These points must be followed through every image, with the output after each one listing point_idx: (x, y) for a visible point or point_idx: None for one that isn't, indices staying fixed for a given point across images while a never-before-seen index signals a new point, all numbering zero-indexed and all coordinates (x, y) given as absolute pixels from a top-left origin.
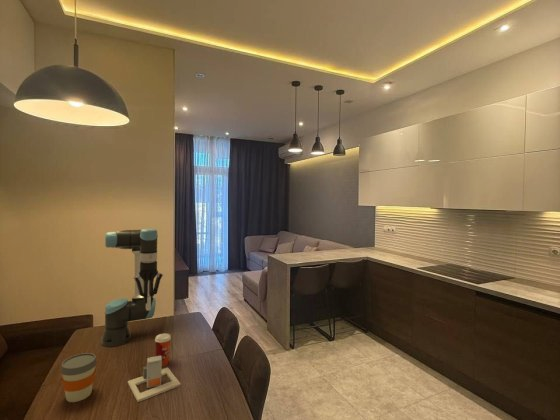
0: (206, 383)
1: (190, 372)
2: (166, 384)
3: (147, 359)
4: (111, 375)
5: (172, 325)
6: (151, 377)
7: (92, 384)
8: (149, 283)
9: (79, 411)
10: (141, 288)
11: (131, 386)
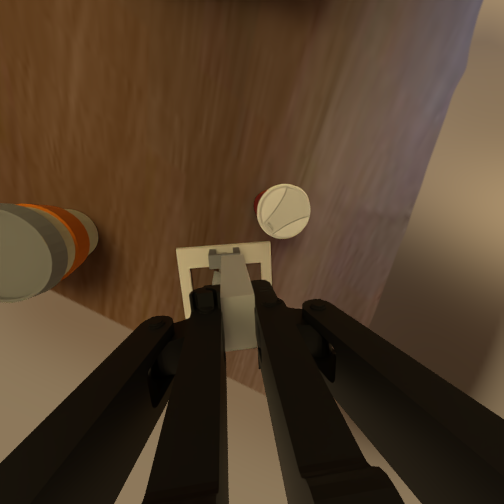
0: None
1: (306, 280)
2: None
3: None
4: (143, 189)
5: None
6: None
7: (91, 243)
8: (287, 447)
9: (80, 293)
10: (120, 477)
11: (181, 274)
